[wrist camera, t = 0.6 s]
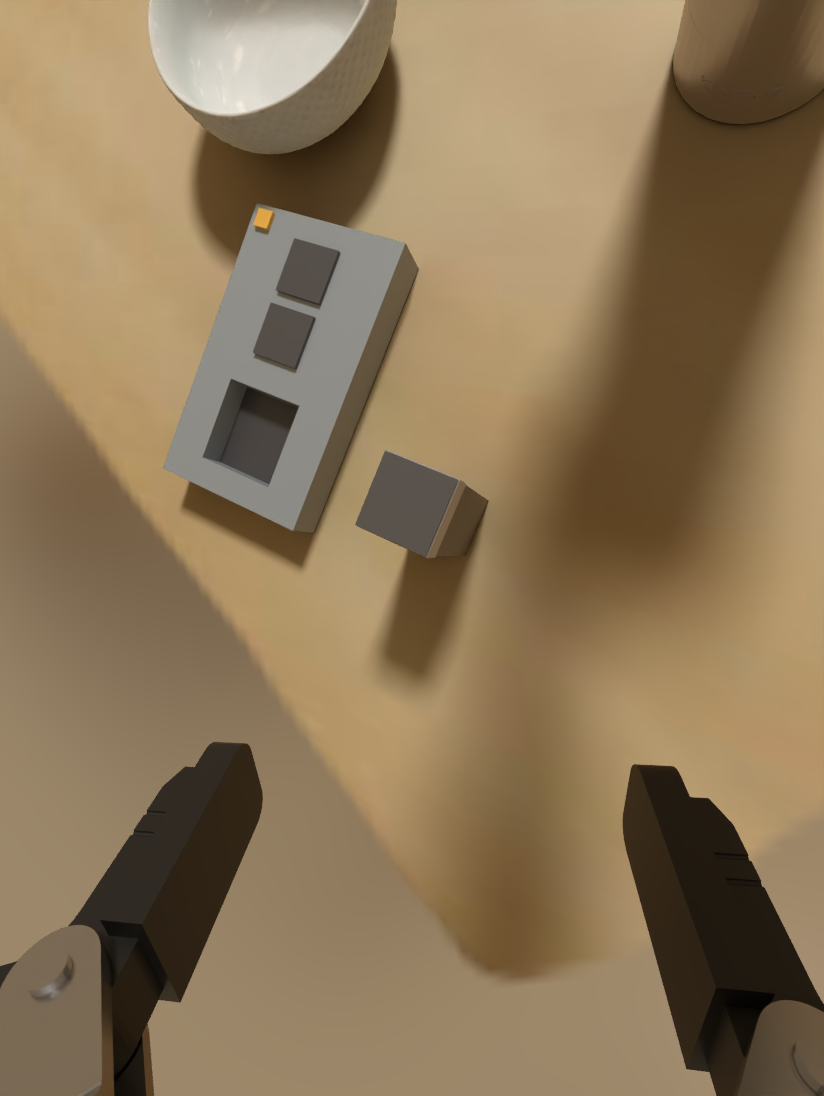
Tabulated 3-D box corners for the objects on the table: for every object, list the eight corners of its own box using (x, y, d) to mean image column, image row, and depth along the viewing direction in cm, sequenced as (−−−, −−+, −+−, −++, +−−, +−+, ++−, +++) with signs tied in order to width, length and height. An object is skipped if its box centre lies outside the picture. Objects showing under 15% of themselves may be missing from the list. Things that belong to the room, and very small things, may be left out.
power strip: (280, 229, 38) (254, 199, 35) (418, 268, 35) (403, 240, 32) (191, 474, 40) (159, 467, 37) (314, 532, 37) (290, 530, 34)
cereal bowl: (333, 230, 37) (281, 157, 30) (183, 144, 41) (107, 62, 34) (465, 1, 34) (440, -136, 27) (290, -67, 38) (231, -200, 31)
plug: (434, 478, 34) (384, 448, 25) (489, 500, 33) (459, 479, 24) (411, 532, 35) (353, 525, 25) (464, 556, 34) (425, 558, 24)
